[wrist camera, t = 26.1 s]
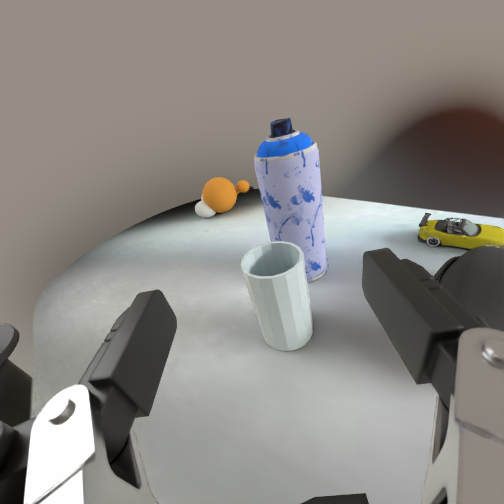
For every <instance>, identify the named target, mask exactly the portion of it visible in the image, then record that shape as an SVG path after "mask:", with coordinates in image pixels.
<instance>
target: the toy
mask: <svg viewBox="0 0 504 504" xmlns="http://www.w3.org/2000/svg"><path fill="white" fill-rule="evenodd" d="M249 187H250V186H249V184H248V183H247V182H246V181H244V180H242V181H239V183H238V184H237V188H238V189H237V190H236V189H235V187H234V185H233V184H232V183H231V182H230V181H229V180H227V179H225V178H221V177H216V178H213V179H211V180H209V181H208V182H207V183H206V185H205V186H204V188H203V193H202V194H203V195H202V198H201V200H202V201H200V202H198V203H197V204H196V206H195V211H196V213H197V214H198V215H199V216H201V217H204V218H208V217H212V216H213V215H215V213H216V212H218V213H222V212H226V211H228V210H230V209H231V208H232V207H233V206H234V204H235V202H236V198H237V194H238V193H239V192H246V191H248V189H252V190H253V192H254V189H253V187H251V188H249Z"/></svg>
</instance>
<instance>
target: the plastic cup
mask: <svg viewBox="0 0 504 504" xmlns="http://www.w3.org/2000/svg"><path fill="white" fill-rule="evenodd" d="M240 264H241V269H242V273H243V276H244V279H245V282H246V285H247V288H248V292H249V295H250V298H251V301H252V304H253V307H254V311H255V314H256V317H257V320H258V323H259V326H260V330H261V333H262V336H263V338H264V340H265V341H266V343H267V344H268V345H269V346H271V347H272V348H274V349H277V350H280V351H292V350H296V349H299V348H301V347H302V346H304V345H305V344H306V343H307V342H308V341H309V340H310V338H311V336H312V333H313V321H312V313H311V306H310V299H309V291H308V284H307V277H306V269H305V262H304V255H303V252H302V250H301V249H300V247H299V246H297V245H295V244H293V243H290V242H284V241H276V242H268V243H265V244H261V245H259V246H257V247H255V248H253V249H251V250H250V251H249V252H247V253H246V254H245V255H244V256H243V258H242V261H241V263H240Z"/></svg>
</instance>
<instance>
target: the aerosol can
mask: <svg viewBox="0 0 504 504" xmlns="http://www.w3.org/2000/svg"><path fill="white" fill-rule="evenodd" d="M270 125H271V136H269V137H267V138H266V141H264V142H263V143H262V144H261V145H260V146H259V149H258V151H257V154H255V156H254V159H255V162H254V166H255V170H256V175H257V180H258V184H259V189H260V193H261V198H262V203H263V207H264V212H265V216H266V221H267V226H268V230H269V235H270V239H271V242H276V241H284V242H290V243H293V244H295V245H297V246H299V247H300V249H301V250H302V252H303V255H304V262H305V269H306V277H307V283H308V282H311V281H315V280H317V279H318V278H320V277H322V276H323V275H324V274H325V273H326V272H327V269H328V260H327V258H326V245H325V231H324V218H323V205H322V191H321V180H320V179H321V178H320V165H319V152H318V148H317V147H316V146H317V145H316V142H315V141H312V140H311V138H310V137H309V136H308V135H307V134H305V133H301V132H299V131H298V130H292V125H291V120H290V118H288V119H280V120H275V121H273V122H272V123H271V124H270Z"/></svg>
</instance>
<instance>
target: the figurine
mask: <svg viewBox="0 0 504 504" xmlns="http://www.w3.org/2000/svg"><path fill="white" fill-rule="evenodd" d="M440 276H441V277H440ZM439 278H440V279H439ZM433 279H436V280H437V281H438V280H439V281H438V282H439V283H440V284H441V285H442V287H443V288H445V289H446V290H447V291H448V292H449V293H450V294H451V295H452V296H454V297H455V298H456V299H457V300H458V301H459V302H460V303H461V304H462V305H463V306H464V307H465V308H466V309H467V310H468V311H469V312H470V313H471V314H472V315H473V316H475V317H476V318H477V319H478V320H479V321H480V322H481V323H482V324H483V325H484V326H485V327H486V328H492V329H496V330H500V331H503V332H504V249H502V248H497V247H490V246H479V247H476V248H473V249H471V250H469V251H468V252H466V253H464V254H463V255H462V256H458V257H453V258H451V259H449V260H448V261H447V262H446V263H445V264H444V265H443V266H442V267H441V268H440V269H439V270H438V271H437V273H436V274H435V275H434V277H433Z"/></svg>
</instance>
